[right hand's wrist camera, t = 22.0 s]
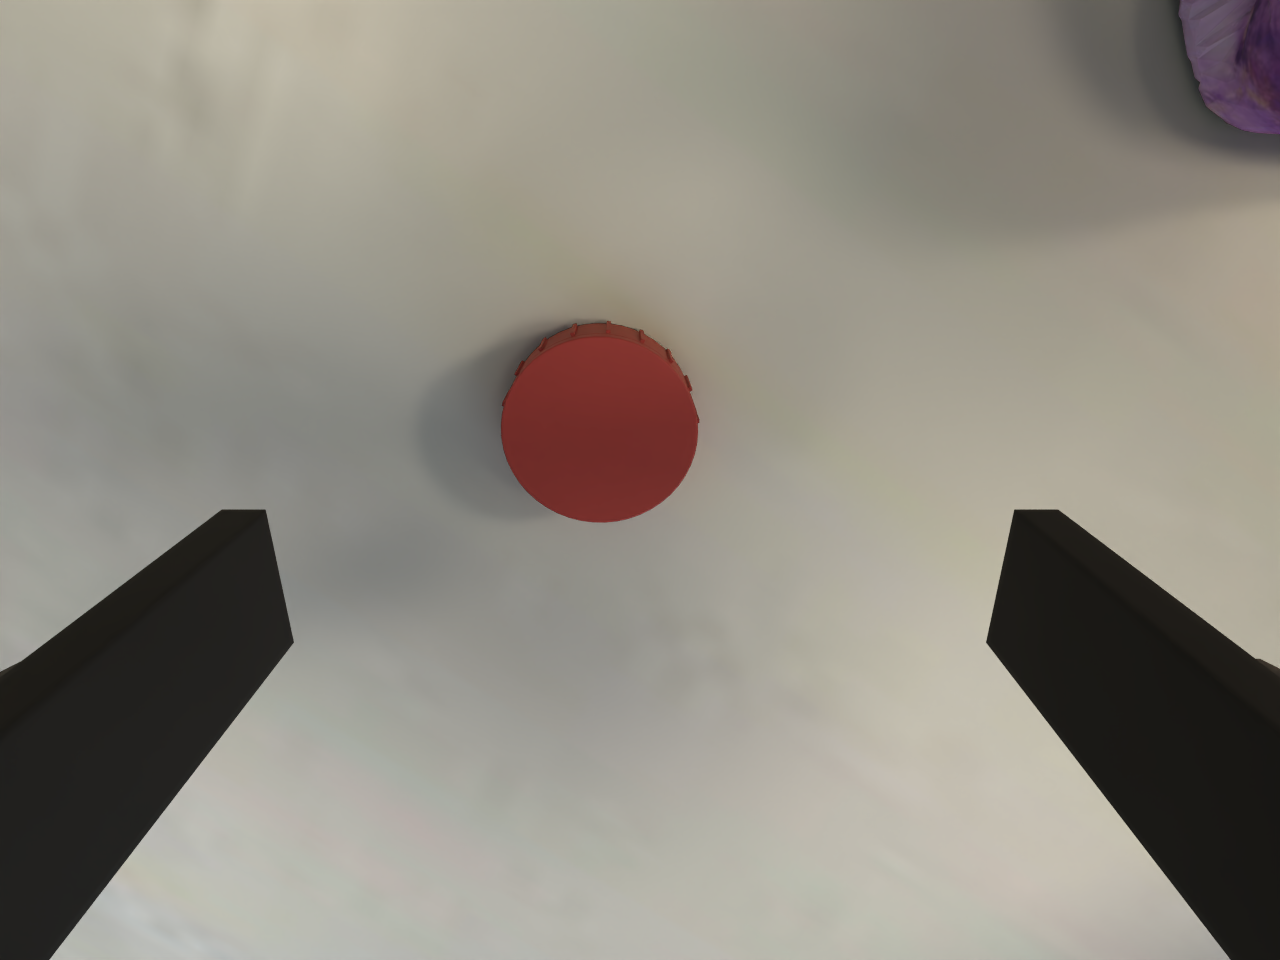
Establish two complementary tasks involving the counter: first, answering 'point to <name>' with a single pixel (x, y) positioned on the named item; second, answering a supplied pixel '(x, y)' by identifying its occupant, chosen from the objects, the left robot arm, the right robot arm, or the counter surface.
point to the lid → (599, 423)
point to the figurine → (1236, 59)
